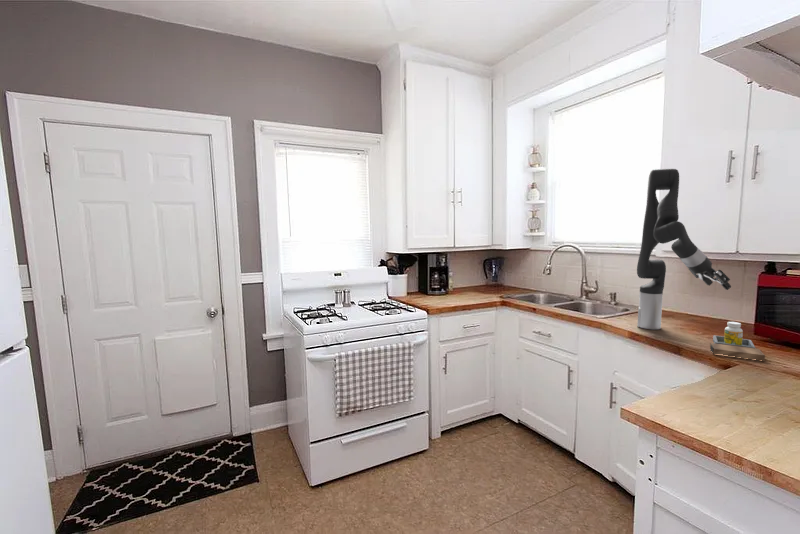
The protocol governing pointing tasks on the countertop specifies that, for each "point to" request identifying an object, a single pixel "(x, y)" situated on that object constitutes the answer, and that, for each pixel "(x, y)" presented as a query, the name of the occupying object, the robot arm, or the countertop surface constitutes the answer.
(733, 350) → the brown flat block
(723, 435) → the countertop surface
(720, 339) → the tray
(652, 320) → the robot arm
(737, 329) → the supplement bottle
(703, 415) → the countertop surface
